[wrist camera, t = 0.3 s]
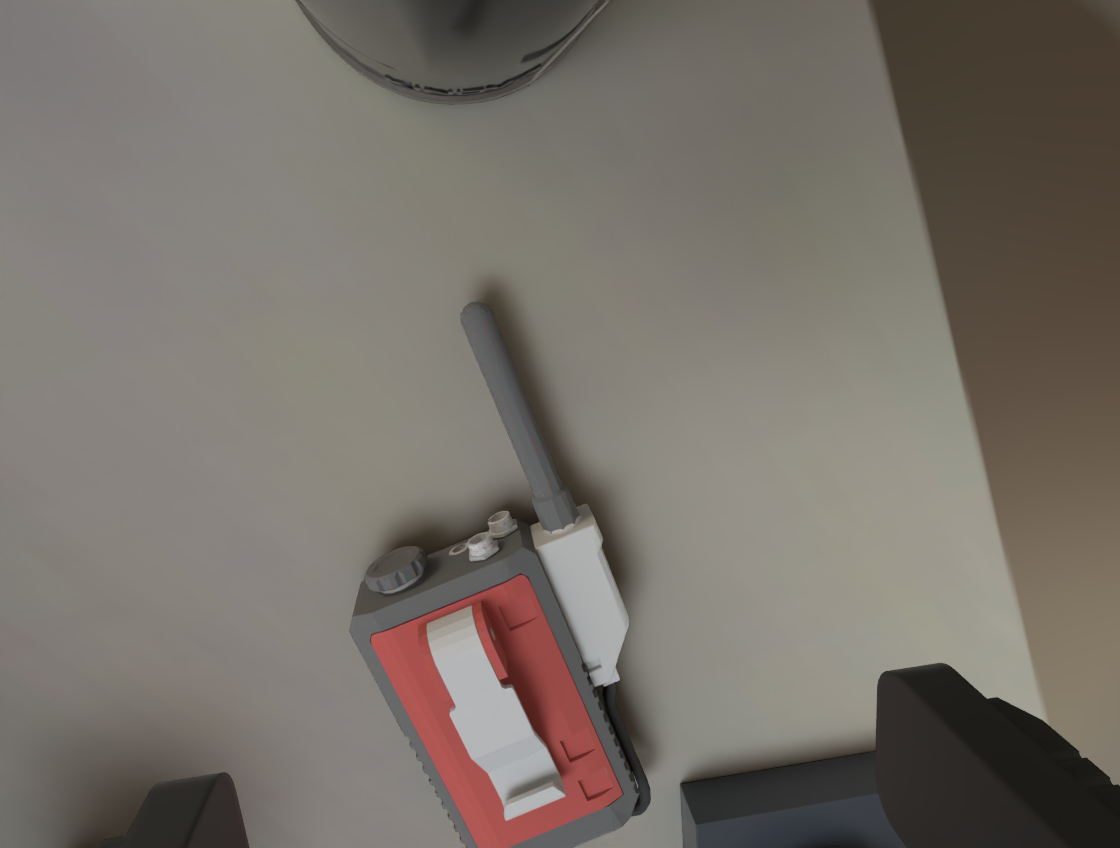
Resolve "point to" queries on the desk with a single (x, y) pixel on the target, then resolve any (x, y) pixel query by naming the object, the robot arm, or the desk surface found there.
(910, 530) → the desk surface
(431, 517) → the desk surface
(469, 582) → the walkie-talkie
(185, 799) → the robot arm
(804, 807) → the button box
